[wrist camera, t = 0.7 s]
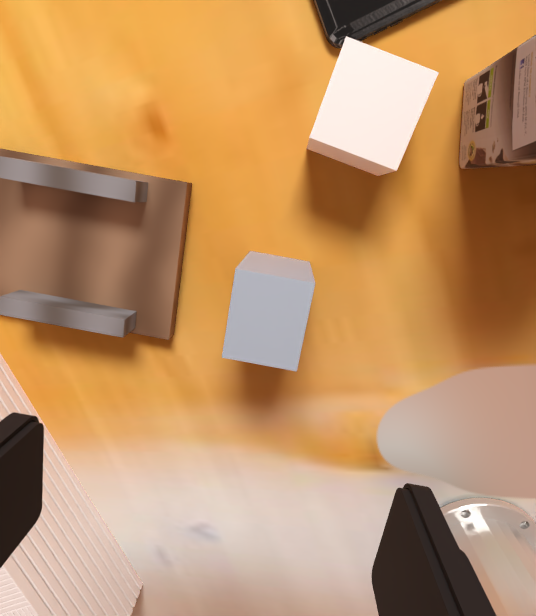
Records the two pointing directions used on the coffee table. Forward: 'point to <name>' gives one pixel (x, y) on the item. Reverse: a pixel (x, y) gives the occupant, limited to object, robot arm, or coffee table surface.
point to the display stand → (90, 245)
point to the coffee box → (501, 112)
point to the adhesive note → (370, 108)
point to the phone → (363, 16)
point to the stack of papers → (63, 542)
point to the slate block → (269, 310)
